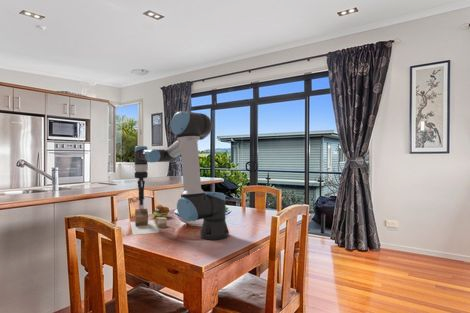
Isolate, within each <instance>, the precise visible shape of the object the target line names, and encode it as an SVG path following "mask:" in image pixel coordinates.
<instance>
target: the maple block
mask: <svg viewBox="0 0 470 313" xmlns="http://www.w3.org/2000/svg"><path fill="white" fill-rule="evenodd" d="M154 223H155V226H157V228H158V229H160V228H164V227H167V226H168V218H167V217H166V218H165V217H156V219H155V222H154Z"/></svg>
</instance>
